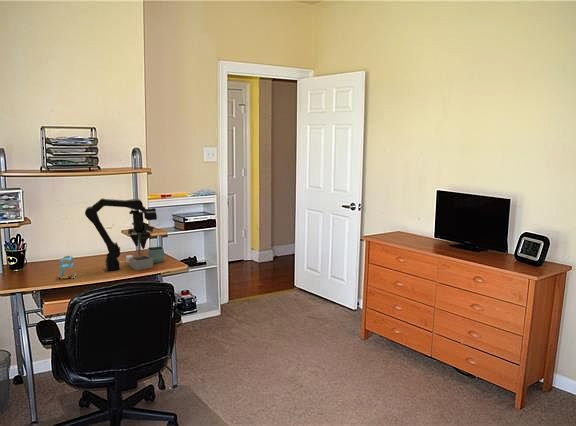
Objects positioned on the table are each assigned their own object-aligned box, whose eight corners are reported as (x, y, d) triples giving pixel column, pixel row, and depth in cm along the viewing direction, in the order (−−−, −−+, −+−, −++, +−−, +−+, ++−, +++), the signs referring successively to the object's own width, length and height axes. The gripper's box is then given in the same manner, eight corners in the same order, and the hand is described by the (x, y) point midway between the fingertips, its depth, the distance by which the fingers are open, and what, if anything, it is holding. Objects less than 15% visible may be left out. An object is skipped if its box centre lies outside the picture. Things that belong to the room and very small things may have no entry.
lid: (124, 267, 304) (123, 259, 303) (117, 263, 313) (117, 255, 312) (142, 264, 311) (141, 256, 310) (135, 260, 319) (134, 252, 319)
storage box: (136, 271, 293) (136, 261, 292) (130, 267, 301) (129, 257, 300) (153, 268, 299) (152, 258, 298) (146, 264, 307) (145, 255, 306)
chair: (60, 276, 285) (58, 255, 283) (76, 275, 287) (74, 254, 285) (58, 280, 278) (55, 258, 276) (74, 279, 280) (72, 257, 278)
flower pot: (165, 263, 309) (164, 249, 308) (149, 265, 306) (149, 250, 304) (162, 260, 317) (162, 246, 316) (148, 261, 314) (147, 247, 313)
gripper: (158, 221, 294) (160, 248, 297) (144, 217, 308) (146, 242, 311) (140, 223, 287) (141, 251, 290) (126, 219, 301) (128, 245, 304)
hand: (140, 247), depth 299 cm, fingers open, 9 cm apart
